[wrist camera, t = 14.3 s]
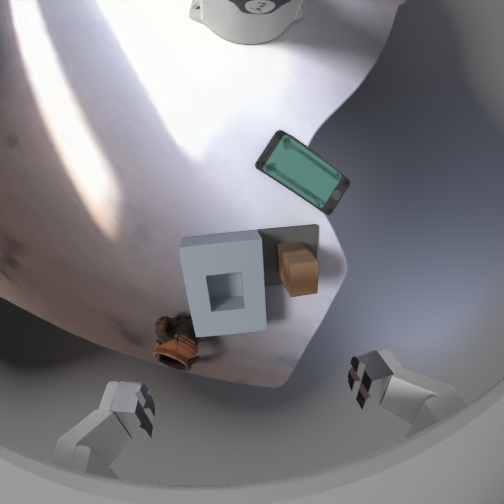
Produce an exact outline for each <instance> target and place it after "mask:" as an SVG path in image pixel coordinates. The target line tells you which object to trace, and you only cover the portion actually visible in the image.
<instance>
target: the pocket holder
mask: <svg viewBox="0 0 504 504" xmlns="http://www.w3.org/2000/svg"><path fill="white" fill-rule="evenodd" d="M179 253H180V259H181V264H182V270H183V276H184V281H185V287H186V292H187V297H188V302H189V307H190V312H191V317H192V321H193V326H194V330H195V335H196V337H207V336H217V335H227V334H236V333H244V332H252V331H260V330H267V324H266V305H265V286H264V268H263V250H262V238H261V236H260V234H259V233H258V231H257V230H249V231H239V232H229V233H220V234H210V235H201V236H192V237H183V238H182V240H181V243H180V246H179Z"/></svg>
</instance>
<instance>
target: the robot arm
mask: <svg viewBox="0 0 504 504" xmlns="http://www.w3.org/2000/svg"><path fill="white" fill-rule="evenodd" d="M302 2H303V0H193V1H192V4H191V8H190V12H189V17H190V18H191V19H192V20H195V21H197V22H200V23H203V24H205V25H206V26H207V27H208V28H209V29H210V30H211V31H212V32H213V33H215V34H216V35H218V36H219V37H221V38H223V39H225V40H228V41H231V42H235V43H240V44H259V43H264V42H267V41H270V40H273V39H275V38H277V37H278V36H280V35H281V34H282V33H283V32H284V31H285V30H286V29H287V27H288V26H289V25H290V24H291V23H293V22H295V21H298V20H299V19H301V18H302V17H303V15H304V12H303V9H302V7H301V4H302ZM196 8H200V9H196ZM351 365H352V368H351V369H350V370H349V372H348V383H349V386H350V389H351V391H352V392H354V393H356V394H357V398H356V400H357V402H358V403H359V405H360V407H361V409H362V410H365V409H368V408H371V407H374V406H377V405H380V406H382V407H383V408H385V409H387V410H388V411H390V412H392V413H393V414H395V415H396V416H398V417H400V418H401V419H403V420H405V421H407V422H408V423H410V424H412V426H411V427H410V429H409V431H408V432H407V434H406V437H407V438H406V439H404V440H402V441H400V442H398V443H395V444H393V445H390V446H388V447H386V448H383V449H381V450H378V451H376V452H373V453H371V454H368V455H365V456H362V457H360V458H357V459H354V460H351V461H348V462H345V463H341V464H338V465H335V466H331V467H328V468H324V469H320V470H316V471H312V472H308V473H303V474H299V475H295V476H289V477H284V478H278V479H272V480H265V481H258V482H249V483H239V484H226V485H200V486H198V485H197V486H196V485H195V486H194V485H189V486H188V485H164V484H152V483H142V482H133V481H126V480H120V479H118V476H117V474H116V473H114V471H112V470H111V469H110V468H109V466H110V465H111V464H112V462H113V461H114V460H115V459H116V458H117V456H118V455H119V454H120V453H121V452H122V451H123V449H124V448H125V447H126V445H128V443H129V442H130V441H131V440H132V438H140V439H151V437H152V430H153V425H152V423H151V420H152V419H153V418H154V416H155V404H154V401H153V398H152V396H150V395H149V394H148V393H147V392H148V388H147V386H146V384H145V383H138V382H115V381H110V382H109V383H108V384H107V387H106V389H105V392H104V395H103V398H102V401H101V404H100V407H99V410H95V411H93V412H92V413H91V414H90V415H88V416H87V417H86V418H85V419H83V420H82V421H81V422H80V423H78V424H77V425H76V426H75V427H74V428H72V429H71V430H70V431H68V432H67V433H66V434H65V435H63V436H62V437H61V438H60V439H59V440H58V443H57V446H56V449H55V451H54V454H53V458H52V461H51V462H48V461H45V460H42V459H40V458H37V457H34V456H32V455H29V454H26V453H24V452H22V451H19V450H17V449H15V448H13V447H10V446H8V445H6V444H4V443H2V442H0V504H504V377H503V378H502V379H501V380H499V381H498V382H497V383H495V384H494V385H493V386H492V387H490V388H489V389H488V390H486V391H485V392H484V393H482V394H481V395H479V396H478V397H477V398H475V399H474V400H472V401H471V402H469V403H468V404H466V403H465V402H464V400H463V399H462V398H461V397H460V396H459V394H458V393H457V392H456V391H455V390H454V388H453V387H452V386H450V385H447V384H444V383H441V382H439V381H436V380H434V379H431V378H429V377H426V376H423V375H421V374H418V373H416V372H413V371H411V370H405V369H404V368H403V367H402V366H401V364H400V363H399V362H398V361H397V359H396V358H395V357H394V356H393V354H391V352H390V351H389V350H388V349H387V348H386V347H383V348H380V349H377V350H374V351H370V352H367V353H363V354H359V355H355V356H353V357H352V359H351Z"/></svg>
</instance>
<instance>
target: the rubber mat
mask: <svg viewBox="0 0 504 504" xmlns="http://www.w3.org/2000/svg"><path fill="white" fill-rule="evenodd" d="M257 231H258V233H259V234H260V236H261V238H262V250H263V268H264V286H272V285H280V284H284V283H283V281H282V279H281V277H280V276H279V274H278V272H277V248H276V244H278V243H287V242H297V241H300V242H301V243H302V244H303V245H304V246H305V247H306V248H307V249H308V250H309V251H310V253H311V254H312V255H313V256H314V257H315V258H316V259H317V225H316V224H313V225H302V226H291V227H280V228H269V229H259V230H257Z"/></svg>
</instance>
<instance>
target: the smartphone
mask: <svg viewBox="0 0 504 504" xmlns="http://www.w3.org/2000/svg"><path fill="white" fill-rule="evenodd" d="M255 166H256V168H257V169H258V170H260V171H261V172H263V173H265V174H266V175H268V176H269V177H271V178H272V179H274V180H276V181H277V182H279V183H280V184H282V185H283V186H285V187H286V188H288V189H289V190H291V191H292V192H294V193H296V194H297V195H298V196H300V197H301V198H303V199H304V200H306V201H307V202H309V203H310V204H312V205H313V206H315V207H316V208H318V209H319V210H320V211H322V212H323V213H325V214H326V215H330V214H331V213H332V212H333V210H334V209H335V207H336V206H337V204H338V203H339V201H340V200H341V198H342V196H343V195H344V193H345V192H346V190H347V188H348V187H349V185H350V180H349V179H348V178H346V177H345V176H344V175H342V174H341V173H340V172H339V171H338V170H336V169H335V168H334V167H332V166H331V165H330V164H328V163H327V162H326V161H324V160H323V159H322V158H320V156H319V155H318V154H316V153H315V152H314V151H312V150H311V149H309V148H307V147H306V146H305V145H304V144H303V143H301V142H300V141H297V139H295V138H294V137H292V136H291V135H288V134H287V133H285V132H284V131H281V130H279V131H277V132H276V133H275V134H274V136H273V137H272V139H271V140H270V142H269V143H268V145H267V147H266V148H265V150H264V151H263V153H262V154H261V156H260V157H259V159H258V160H257V162H256V164H255Z"/></svg>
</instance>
